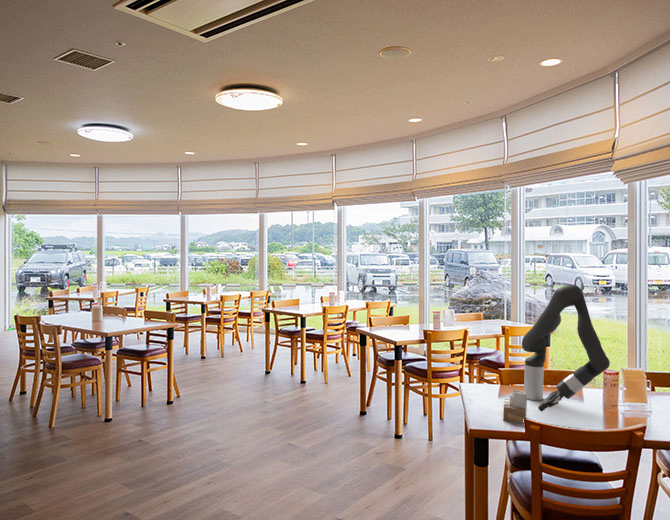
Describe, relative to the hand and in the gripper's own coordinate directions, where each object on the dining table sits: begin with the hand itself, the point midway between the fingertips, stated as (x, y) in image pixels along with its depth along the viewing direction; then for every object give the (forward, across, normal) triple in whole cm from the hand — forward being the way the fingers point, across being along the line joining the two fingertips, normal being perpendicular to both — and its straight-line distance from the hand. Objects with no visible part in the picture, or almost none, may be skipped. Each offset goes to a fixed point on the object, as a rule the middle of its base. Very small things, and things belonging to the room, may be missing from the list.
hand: (539, 409), depth 228 cm
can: (+10, 0, -3) cm, 11 cm away
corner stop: (+11, 0, -4) cm, 12 cm away
